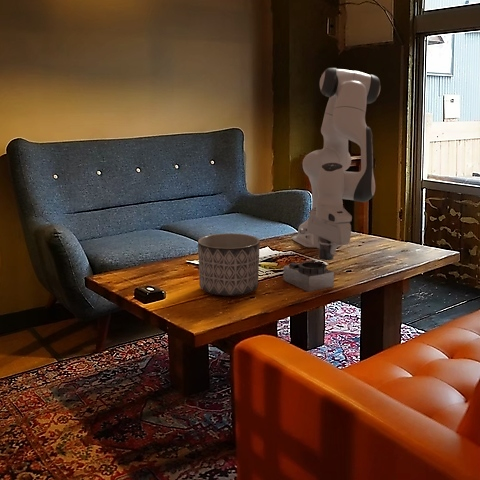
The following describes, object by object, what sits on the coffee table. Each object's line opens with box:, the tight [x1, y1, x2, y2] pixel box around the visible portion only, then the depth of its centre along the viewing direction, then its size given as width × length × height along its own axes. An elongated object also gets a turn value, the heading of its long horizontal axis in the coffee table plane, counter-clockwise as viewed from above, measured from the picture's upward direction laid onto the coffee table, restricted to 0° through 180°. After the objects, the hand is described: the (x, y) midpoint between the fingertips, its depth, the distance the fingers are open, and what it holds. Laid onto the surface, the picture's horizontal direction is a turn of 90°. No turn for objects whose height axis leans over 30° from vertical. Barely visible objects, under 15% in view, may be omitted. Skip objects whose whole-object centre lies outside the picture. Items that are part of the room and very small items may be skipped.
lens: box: [318, 237, 335, 261], centre depth 213 cm, size 5×5×7 cm
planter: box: [197, 232, 261, 297], centre depth 195 cm, size 19×19×16 cm
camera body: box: [282, 260, 335, 293], centre depth 204 cm, size 14×10×7 cm
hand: (326, 251), depth 213 cm, fingers closed on lens, 5 cm apart
